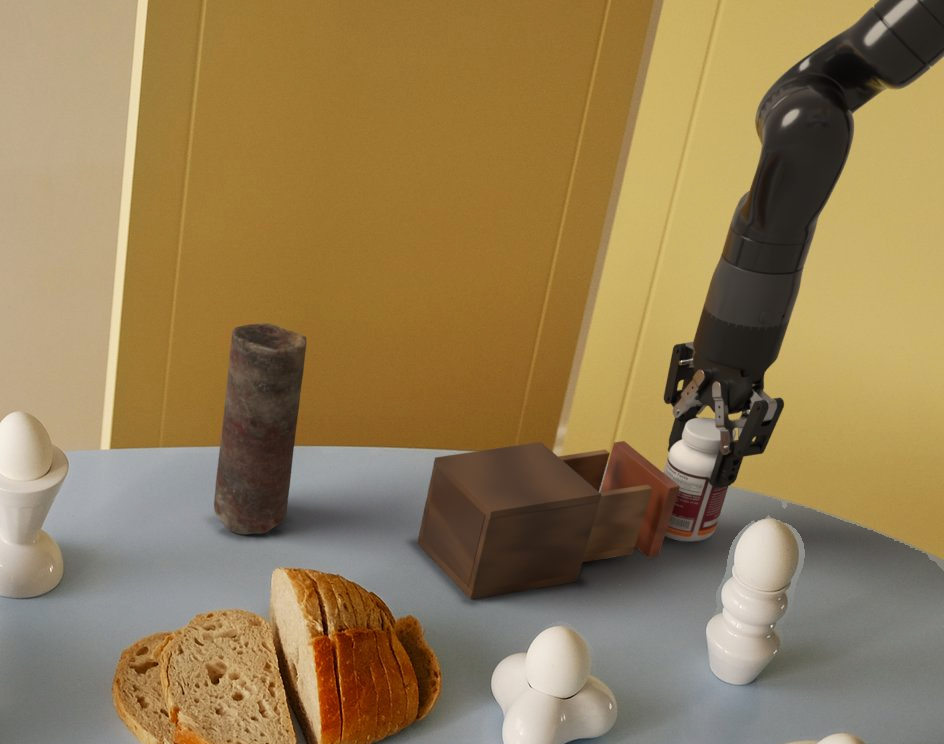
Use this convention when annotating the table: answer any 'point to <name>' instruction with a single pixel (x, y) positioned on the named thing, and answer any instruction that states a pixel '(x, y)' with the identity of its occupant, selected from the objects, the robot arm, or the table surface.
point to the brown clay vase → (259, 427)
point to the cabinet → (507, 519)
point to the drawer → (625, 501)
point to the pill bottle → (695, 481)
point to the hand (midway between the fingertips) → (698, 468)
